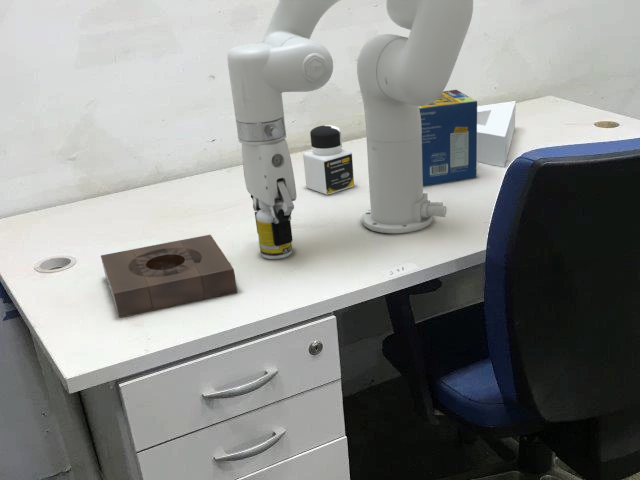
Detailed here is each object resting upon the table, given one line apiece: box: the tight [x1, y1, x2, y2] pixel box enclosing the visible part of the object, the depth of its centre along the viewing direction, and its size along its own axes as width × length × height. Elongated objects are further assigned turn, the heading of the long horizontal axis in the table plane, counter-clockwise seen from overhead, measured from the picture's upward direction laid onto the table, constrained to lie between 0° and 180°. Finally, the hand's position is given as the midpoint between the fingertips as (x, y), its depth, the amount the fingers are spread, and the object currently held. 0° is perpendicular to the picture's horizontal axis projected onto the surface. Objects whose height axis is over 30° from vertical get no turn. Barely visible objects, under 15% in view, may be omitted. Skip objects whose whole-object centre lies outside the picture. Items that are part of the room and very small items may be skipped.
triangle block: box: [477, 100, 517, 168], centre depth 191 cm, size 30×26×6 cm
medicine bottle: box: [302, 124, 355, 196], centre depth 167 cm, size 7×7×12 cm
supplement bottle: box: [255, 198, 293, 260], centre depth 140 cm, size 5×5×10 cm
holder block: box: [100, 234, 238, 318], centre depth 133 cm, size 18×16×4 cm
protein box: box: [419, 89, 478, 187], centre depth 169 cm, size 10×15×16 cm
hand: (274, 237), depth 141 cm, fingers closed on supplement bottle, 5 cm apart
